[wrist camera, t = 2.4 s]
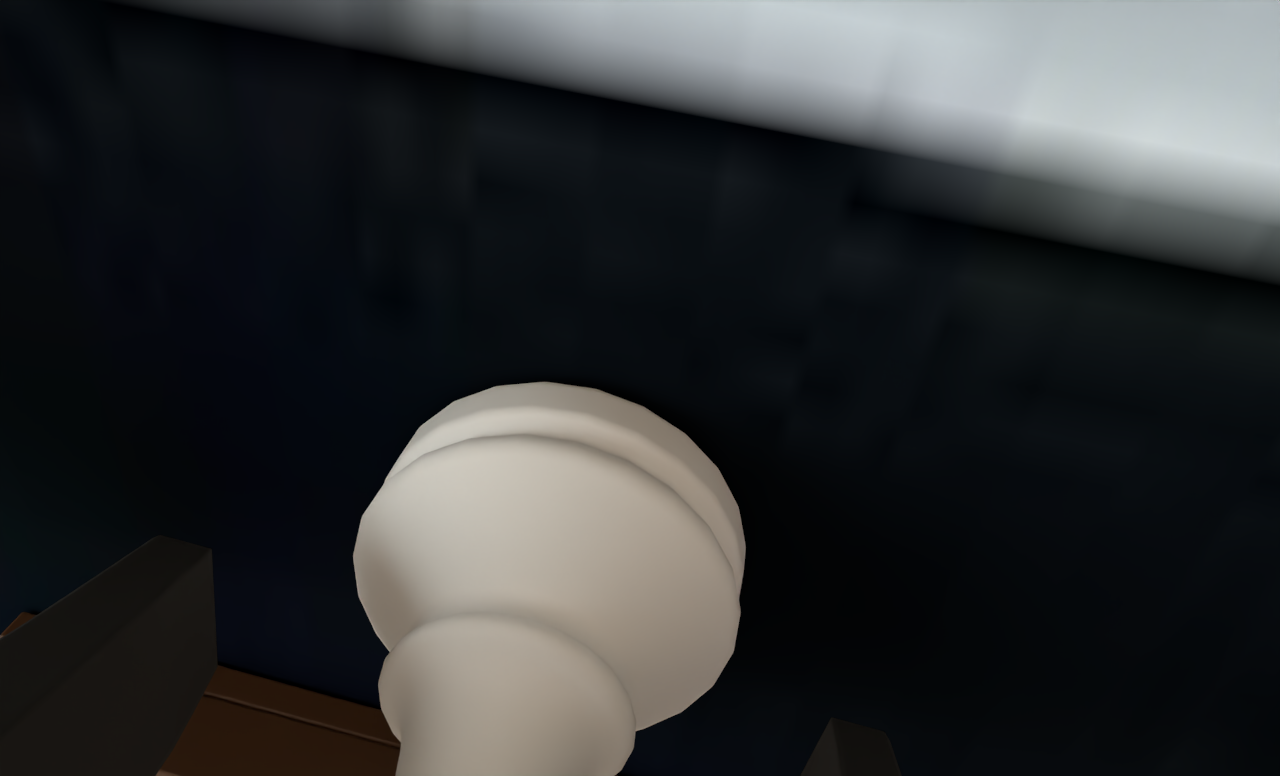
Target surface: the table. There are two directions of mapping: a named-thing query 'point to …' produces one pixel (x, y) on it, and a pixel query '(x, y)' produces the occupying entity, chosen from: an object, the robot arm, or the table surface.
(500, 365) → the table surface
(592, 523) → the chess pawn
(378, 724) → the tray
